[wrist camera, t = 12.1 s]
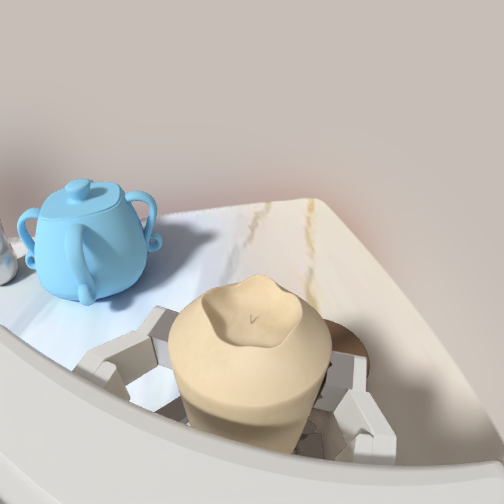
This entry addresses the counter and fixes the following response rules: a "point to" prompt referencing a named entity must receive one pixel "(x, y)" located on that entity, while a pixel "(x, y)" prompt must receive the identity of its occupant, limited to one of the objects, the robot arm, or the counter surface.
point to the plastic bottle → (6, 258)
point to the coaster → (346, 341)
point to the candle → (250, 362)
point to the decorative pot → (89, 240)
